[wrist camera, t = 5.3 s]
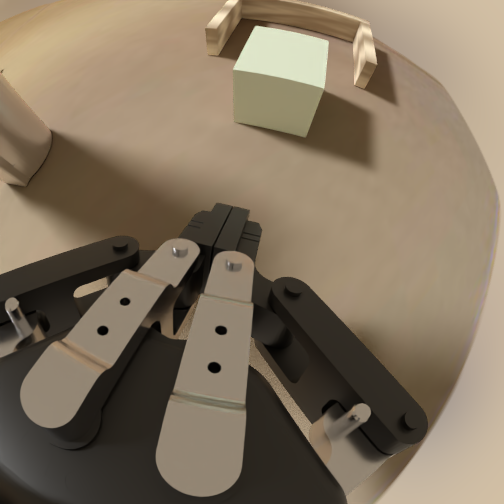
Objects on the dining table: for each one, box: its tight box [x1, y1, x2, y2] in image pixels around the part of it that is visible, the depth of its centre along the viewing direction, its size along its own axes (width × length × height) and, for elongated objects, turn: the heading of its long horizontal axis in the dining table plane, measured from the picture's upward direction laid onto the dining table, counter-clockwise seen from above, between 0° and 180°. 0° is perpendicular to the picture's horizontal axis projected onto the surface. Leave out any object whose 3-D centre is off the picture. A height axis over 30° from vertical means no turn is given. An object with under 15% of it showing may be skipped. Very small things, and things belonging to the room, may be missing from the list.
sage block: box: [233, 26, 329, 138], centre depth 24 cm, size 9×8×8 cm
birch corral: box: [205, 0, 377, 89], centre depth 29 cm, size 14×22×5 cm, turn 77°
